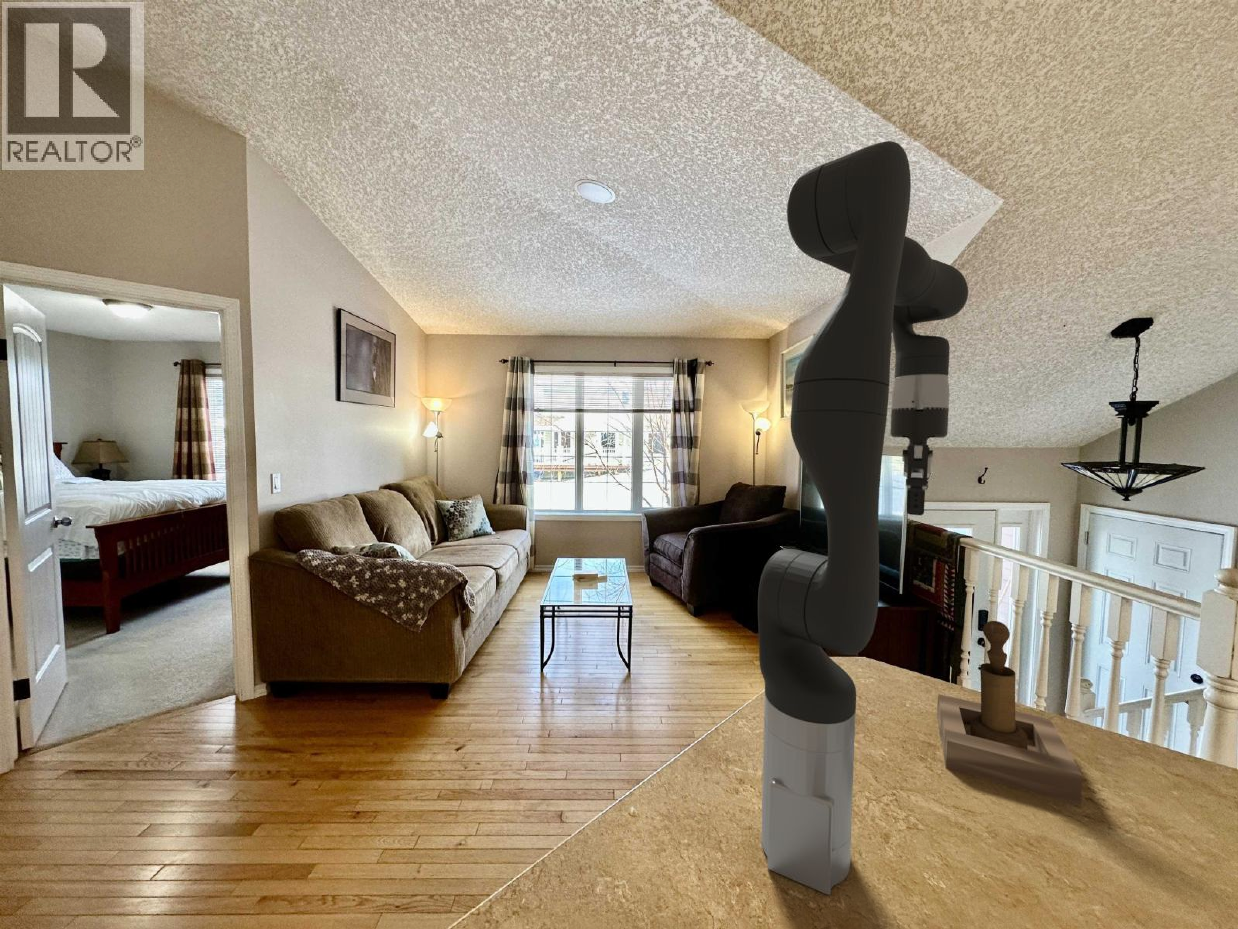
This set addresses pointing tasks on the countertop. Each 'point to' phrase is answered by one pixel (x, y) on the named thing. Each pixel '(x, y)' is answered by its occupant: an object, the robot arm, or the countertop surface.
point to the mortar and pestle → (997, 693)
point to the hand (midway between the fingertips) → (914, 511)
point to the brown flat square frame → (1009, 753)
